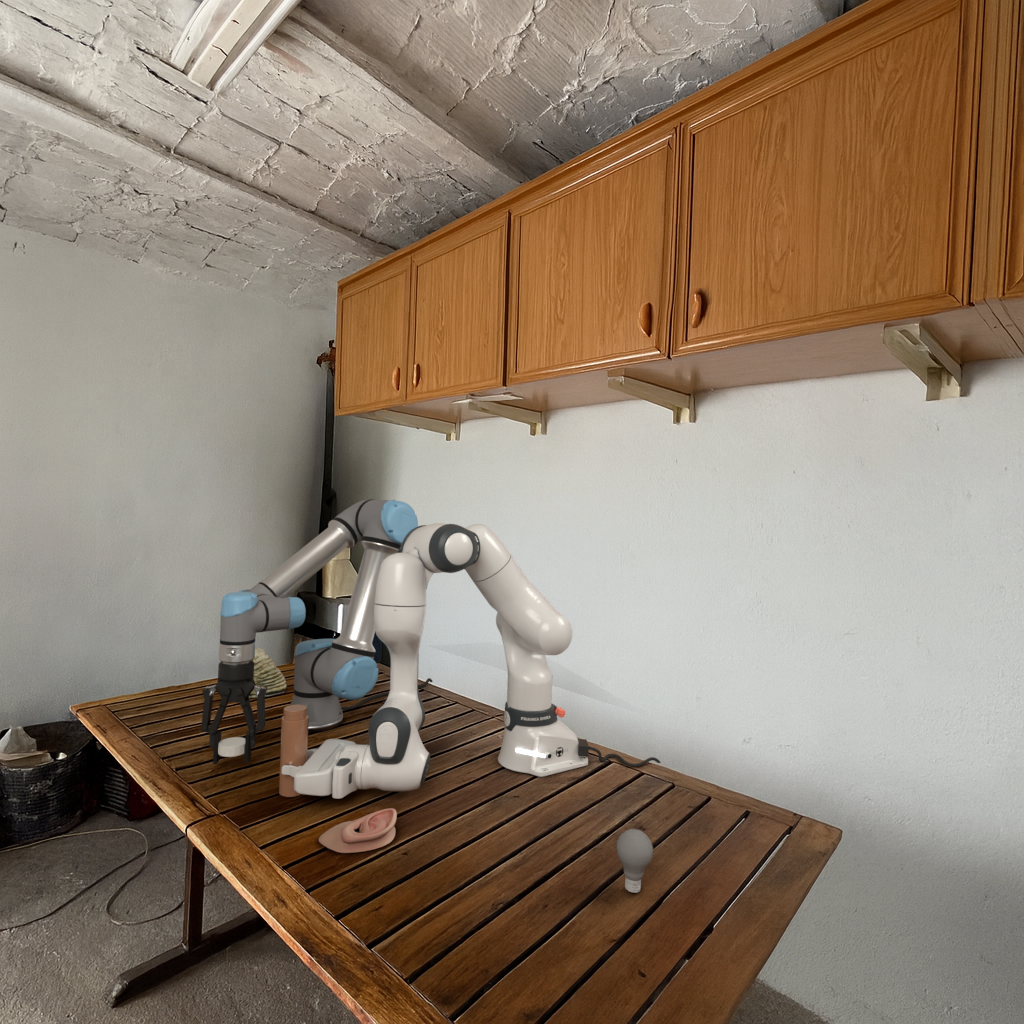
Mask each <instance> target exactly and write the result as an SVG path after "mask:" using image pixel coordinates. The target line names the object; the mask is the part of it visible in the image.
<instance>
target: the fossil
mask: <svg viewBox="0 0 1024 1024" xmlns="http://www.w3.org/2000/svg"><path fill="white" fill-rule="evenodd" d="M253 661H254V682H255V684H256V685H258V686H261V687H263V686H267V691H266V694H265V697H271V696H275V695H281V694H284V693H285V691H286V689H287V687H288V686H287V680H286V678H285V676H284V674H283V673H282V672H281V669H279V668H278V667H277V665H276V663H275V662H274V660H273V659H272V658H271V657H270V656H269V655H268V654H267V653H266V652H265V650H264V649H263V648H260V647H258V648H255V658H254V659H253ZM257 697H258V696H256V695H255V691H254V690H253V691H252V692H251V693H250V695H249V698H250V699H251V698H257Z"/></svg>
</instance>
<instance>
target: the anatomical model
mask: <svg viewBox="0 0 1024 1024" xmlns="http://www.w3.org/2000/svg"><path fill="white" fill-rule="evenodd" d="M397 816H398V813H397V810H396V809H395V808H392V807H390V808H384V809H380V810H377V811H374V812H371V813H369V814H366V815H364V816H362V817H360V818H357V819H354V820H348V821H343V822H341V823H339V824H335V825H334V826H332V827H330V828H328V830H326V831H324V832H323V833H322V834H321V835H320V836H319V837H318V842H319V843H320V844H321V845H322V846H324V847H325V848H327V849H329V850H332V851H333V852H336V853H339V854H351V853H361V852H367V851H372V850H376V849H380V848H382V847H385V846H387V845H389V844H390V843H392V842H393V840H394V839H395V837H396V833H397V832H396V827H395V825H396V823H397V818H398V817H397Z"/></svg>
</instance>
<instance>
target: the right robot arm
mask: <svg viewBox="0 0 1024 1024" xmlns="http://www.w3.org/2000/svg"><path fill="white" fill-rule="evenodd" d="M463 570H464V571H465V572H466V573H467V575H468V576H469V578H470V579H471V582H473V584H474V585H475V586H476V588H477V589H478V591H479V592H480V593H481V595H482V596H483V598H484V599H485V601H486V602H487V603H488V605H489V606H490V607H491V608H492V609H494V610H495V611H496V612H497V613H496V616H495V625H496V628H497V630H498V632H499V634H500V636H501V640H502V645H503V650H504V654H505V655H504V656H505V661H506V668H507V669H506V671H507V691H506V701H505V704H504V711H503V712H504V713H503V726H504V731H503V737H502V743H501V746H500V750H499V754H498V756H497V762H498V763H499V764H500V765H501V767H503V768H505V769H508V770H509V771H510V770H511V771H513V772H516V773H517V772H518V773H524V774H530V775H532V776H535V777H540V778H543V777H547V776H550V775H556V774H559V773H563V772H567V771H570V770H571V771H572V770H575V769H578V768H579V769H580V768H582V767H586V766H589V752H590V751H594V752H595V753H597V755H598V759H599V761H600V762H602V763H604V762H606V761H607V760H608V759H609V758H611V757H612V758H616V759H618V760H619V761H620V762H622V764H624V765H625V766H627V767H631V768H638V767H641V766H644V765H645V764H648V763H649V762H651V761H654V762H656V763H657V764H661V761H660V759H658V758H657V757H654V756H651V757H648V758H646V759H645V760H643V761H641V762H638V763H631V762H628V761H626V760H625V759H624V758H623V757H622V756H621V755H618V754H616V753H608V754H606V755H605V756H604V757H603V755H602V752H601V751H600V749H598V748H597V747H593V746H590V745H589V742H588V740H587V738H585V739H584V738H578V737H577V734H576V733H575V732H574V731H573V730H572V729H571V728H569V727H568V726H567V725H566V724H564V722H562V721H561V720H560V719H559V718H561V719H562V718H564V717H565V716H566V710H565V709H564V708H563V707H558V706H557V705H555V704H553V703H552V700H553V678H554V675H553V672H552V669H551V667H550V666H549V663H548V661H547V658H546V657H547V656H558V655H561V654H562V653H564V652H565V651H567V649H568V648H569V646H570V645H571V643H572V640H573V635H574V633H573V627H572V624H571V621H570V620H568V619H567V617H565V616H564V615H563V614H561V612H559V611H558V610H557V609H556V607H554V605H553V604H552V603H551V602H550V601H549V600H548V599H547V598H546V596H544V594H543V593H542V592H541V591H540V590H539V589H538V588H537V587H536V586H535V585H534V583H532V582H531V581H530V579H529V578H528V577H527V576H526V573H524V571H523V570H522V568H521V566H520V565H519V564H518V563H517V561H516V559H514V556H513V555H512V554H511V551H509V549H508V548H507V547H506V546H505V543H503V541H502V540H501V539H500V538H499V536H498V535H496V534H495V533H494V531H492V529H491V528H489V527H488V526H487V525H485V524H482V523H475V524H471V525H468V526H466V527H464V526H462V525H459V524H455V523H443V522H442V523H440V522H437V523H436V522H435V523H431V524H423V525H418V527H416V528H414V529H412V530H411V531H409V532H408V534H407V535H406V536H405V538H404V540H403V542H402V545H401V547H400V548H399V550H398V552H397V553H395V554H392V555H390V556H388V557H386V558H385V559H384V560H383V562H382V564H381V567H380V571H379V575H378V580H377V585H376V592H375V604H374V623H375V634H376V636H377V638H378V639H379V640H380V641H381V642H382V643H383V644H384V645H385V647H386V648H387V650H388V652H389V657H390V673H389V674H390V675H389V676H390V677H389V678H390V681H389V682H390V683H389V691H388V692H389V695H387V698H386V700H385V702H384V704H383V705H382V706H380V707H379V708H378V710H377V711H375V712H374V714H373V715H372V717H371V718H370V720H369V723H368V726H367V727H368V728H367V732H368V734H367V735H368V744H358V743H356V742H355V741H353V740H347V739H340V738H329V739H326V740H325V741H323V742H322V743H321V744H320V746H319V747H318V748H311V749H308V750H307V762H306V763H305V764H304V765H303V766H298V767H296V766H293V764H288V763H286V764H285V765H284V766H283V767H282V774H283V775H290V776H292V777H294V791H296V792H297V793H299V794H301V795H306V796H315V797H316V796H317V797H327V796H330V795H331V797H332V799H334V800H335V799H337V800H340V799H343V798H344V797H346V796H348V795H350V794H351V793H353V792H355V791H357V790H362V791H363V790H364V791H366V790H371V789H378V790H380V791H382V792H383V791H384V792H412V791H416V790H418V789H420V788H421V787H422V786H423V784H424V783H425V781H426V779H427V775H428V772H429V768H430V765H431V754H430V752H429V751H428V750H427V749H426V747H425V745H424V744H423V741H422V739H421V737H420V731H421V729H422V728H423V726H424V724H425V721H426V710H425V706H424V704H423V701H422V698H421V696H420V695H421V694H420V692H419V688H418V685H419V659H420V658H419V657H420V653H419V652H420V646H421V641H422V637H423V631H424V625H425V621H426V620H425V619H426V613H427V612H426V611H427V591H428V590H427V589H428V586H429V582H430V580H431V578H432V577H433V575H434V574H440V573H445V574H446V573H447V574H454V573H459V572H461V571H463Z"/></svg>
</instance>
